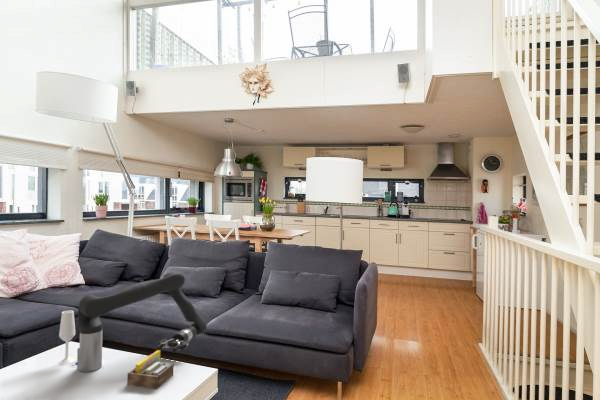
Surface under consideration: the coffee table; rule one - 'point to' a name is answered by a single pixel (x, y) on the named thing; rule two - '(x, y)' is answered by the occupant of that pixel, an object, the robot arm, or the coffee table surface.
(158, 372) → the slate offcut
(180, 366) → the coffee table surface
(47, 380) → the coffee table surface
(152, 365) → the sage offcut
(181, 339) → the robot arm
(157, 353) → the candy box
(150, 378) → the offcut rack
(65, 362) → the champagne flute
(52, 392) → the coffee table surface
